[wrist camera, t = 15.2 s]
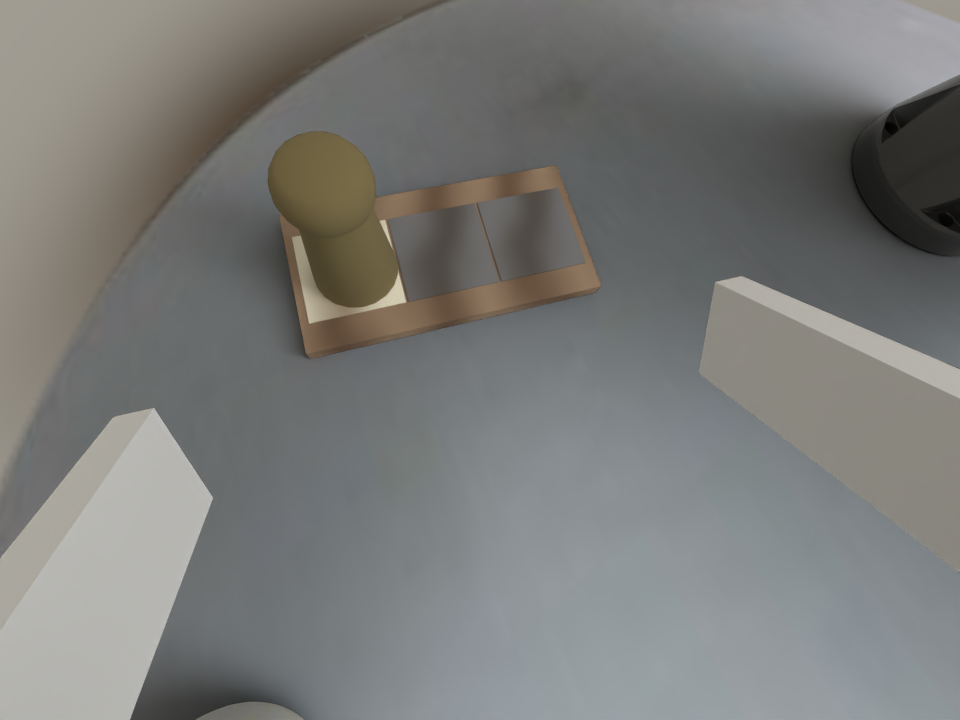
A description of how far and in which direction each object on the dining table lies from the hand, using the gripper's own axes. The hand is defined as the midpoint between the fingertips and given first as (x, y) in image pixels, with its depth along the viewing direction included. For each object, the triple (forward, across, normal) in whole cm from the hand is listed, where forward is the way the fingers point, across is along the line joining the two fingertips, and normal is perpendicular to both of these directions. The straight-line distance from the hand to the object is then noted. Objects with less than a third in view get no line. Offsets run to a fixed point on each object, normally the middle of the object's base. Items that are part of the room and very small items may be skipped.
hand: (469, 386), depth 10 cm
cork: (+23, -4, -4) cm, 24 cm away
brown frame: (+24, +3, -4) cm, 25 cm away
